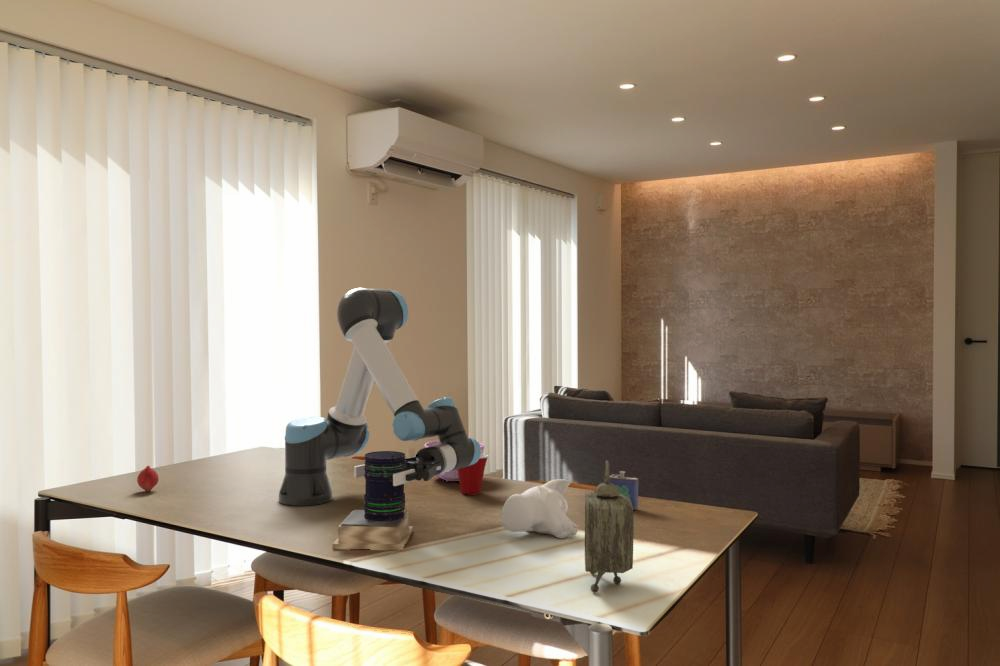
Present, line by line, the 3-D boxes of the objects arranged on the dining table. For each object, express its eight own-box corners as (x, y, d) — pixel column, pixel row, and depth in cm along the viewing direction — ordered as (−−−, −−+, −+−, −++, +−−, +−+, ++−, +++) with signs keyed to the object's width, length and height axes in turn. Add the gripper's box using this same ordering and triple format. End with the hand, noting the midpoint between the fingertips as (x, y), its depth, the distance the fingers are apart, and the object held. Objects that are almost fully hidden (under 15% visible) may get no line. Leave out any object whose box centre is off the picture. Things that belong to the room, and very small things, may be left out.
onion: (132, 492, 225) (132, 466, 225) (148, 488, 231) (148, 462, 230) (147, 494, 223) (147, 467, 223) (162, 490, 228) (162, 464, 228)
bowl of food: (488, 485, 241) (489, 449, 241) (426, 486, 238) (426, 450, 237) (480, 472, 261) (480, 439, 260) (422, 473, 257) (422, 439, 257)
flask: (638, 509, 212) (639, 471, 212) (636, 511, 210) (637, 473, 210) (606, 506, 216) (607, 468, 216) (604, 508, 213) (604, 470, 213)
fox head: (563, 519, 173) (603, 497, 190) (507, 485, 182) (550, 466, 198) (546, 568, 177) (587, 542, 193) (492, 532, 186) (535, 510, 202)
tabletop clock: (584, 571, 160) (585, 453, 159) (627, 572, 159) (629, 455, 159) (585, 596, 146) (587, 467, 145) (633, 598, 145) (635, 468, 144)
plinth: (332, 549, 173) (332, 525, 173) (349, 529, 189) (349, 508, 189) (401, 550, 172) (402, 527, 172) (413, 531, 188) (413, 509, 188)
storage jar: (355, 516, 181) (355, 454, 181) (387, 509, 188) (387, 449, 188) (381, 524, 174) (382, 460, 174) (413, 516, 182) (414, 454, 181)
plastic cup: (490, 489, 235) (490, 451, 234) (486, 497, 224) (486, 457, 224) (455, 488, 236) (456, 450, 235) (450, 496, 225) (450, 456, 225)
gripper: (471, 481, 189) (411, 499, 172) (401, 468, 204) (340, 484, 187) (471, 451, 188) (411, 467, 172) (400, 441, 204) (339, 454, 187)
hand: (374, 476), depth 180 cm, fingers open, 13 cm apart
